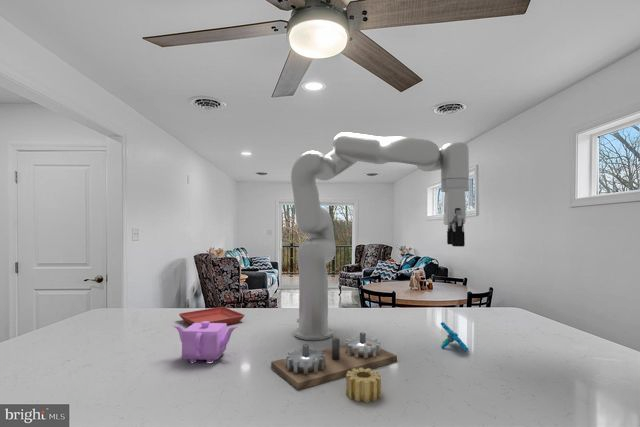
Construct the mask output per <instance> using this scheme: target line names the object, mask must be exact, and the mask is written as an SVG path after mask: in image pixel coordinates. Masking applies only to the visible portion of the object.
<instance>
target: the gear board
mask: <svg viewBox="0 0 640 427" xmlns="http://www.w3.org/2000/svg"><path fill="white" fill-rule="evenodd" d="M340 340H341V339H340V338H339V337H332V338H331V347H330V348H326V349H321V350H317V351H318V352H319V351H322V352H323V354H325V366H324V369H323V370H318V372H317V373H313V372H309V373H308V374H304V373H302V372H299V373H294V371H293V370H291V371H289V370H287V367H286V358H281V359H279V360H273V361H270V368H271V369H272V370H273V371H274V372H276V373H277V374H278V375H279V376H280V377H282V378H283V379H284V380H285V381H287V383H289V384H290V385H291V386H292V387H294V388H295V389H296V390H298V391H300V390H302V389H306V388H311V387H314V386H316V385H320V384H324V383H327V382H330V381H333V380H337V379H341V378H345V377H346V374H347V372H348V371H351V369H354V368H355V369H359V368H363V369H367V368H369V369H371V370H373V369H375V368H379V367H383V366H385V365H389V364H390V365H391V364H392V363H396V362H398V355H397V354H394V353H392V352H390V351H387V350H386V349H383V348H381V352H380V355H376V357H368V358H364V357H358V358H357V357H355V356H354V355H348V352H345V344H344V345H341V344H340Z"/></svg>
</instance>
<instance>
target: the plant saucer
mask: <svg viewBox="0 0 640 427" xmlns="http://www.w3.org/2000/svg"><path fill="white" fill-rule="evenodd" d="M178 315H179V317H180V318H181V319H182V320H183V321H184V322H185V323H186V322H187V324H188V323H189V325H190V324H191V325H192V324H194V323H201V322H203V321H209V322H210V323H226V324H227V326H228V324H229V325H233V323H234V324H238V323H240V322H241V321H242V320H243V318H245V316H246V315H245V314H244V313H240V312H238V311H236V310H232V309H231V308H227V307H225V306H219V307H213V308H206V309H199V310H193V311H186V312H181V313H179V314H178ZM191 325H190V326H191Z"/></svg>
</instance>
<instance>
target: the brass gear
mask: <svg viewBox="0 0 640 427" xmlns="http://www.w3.org/2000/svg"><path fill="white" fill-rule="evenodd" d="M345 377H346V378H345V384H346V385H345V387H346V388H345V394H346V396H348V398H349V399H350V400H353V399H354V401H355V402H358V403H360V402H361V401H363V402H364V403H366V404H367V403H370V401H372V402H377V401H378V399H381V398H382V374H381V373H379V371H378V370H376V369H375V370H373V369H369V368H367V369H363V368H359V369H355V368H354V369H351V371H348V372H347V374H346V376H345Z"/></svg>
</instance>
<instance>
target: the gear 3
mask: <svg viewBox="0 0 640 427" xmlns="http://www.w3.org/2000/svg"><path fill="white" fill-rule="evenodd" d="M440 325H441V327H442V328H443V329H444V330H445V331H446V332H447V334H446V338H445V339H443V341H442V343H443V344H441V345H440V347H441V348H442V349H443V350H444V349H446V347H447V346H448V345H450V344H451V343H453V342H456V343H458V345H459V347H460V348H462V349H463V350H464V351H465V352H467V351H468V350H469V348H468V347H467V345H466V344H465V342H464V341H463V340H462V339H461V338H460V337H459V334H458V333H457V332H454V330H453V329H451V328H450V327H449V326H448V325H447V324H446V323H445V322H443V321H442V322H440Z"/></svg>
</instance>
